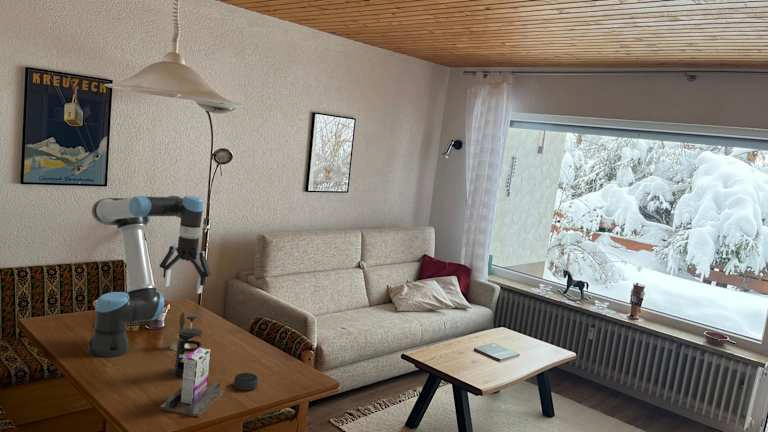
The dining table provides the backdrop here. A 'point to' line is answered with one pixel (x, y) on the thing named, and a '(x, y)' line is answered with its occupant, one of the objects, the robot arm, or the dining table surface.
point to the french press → (185, 338)
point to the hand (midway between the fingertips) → (182, 289)
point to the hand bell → (174, 345)
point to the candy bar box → (195, 375)
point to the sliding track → (197, 406)
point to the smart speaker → (246, 381)
